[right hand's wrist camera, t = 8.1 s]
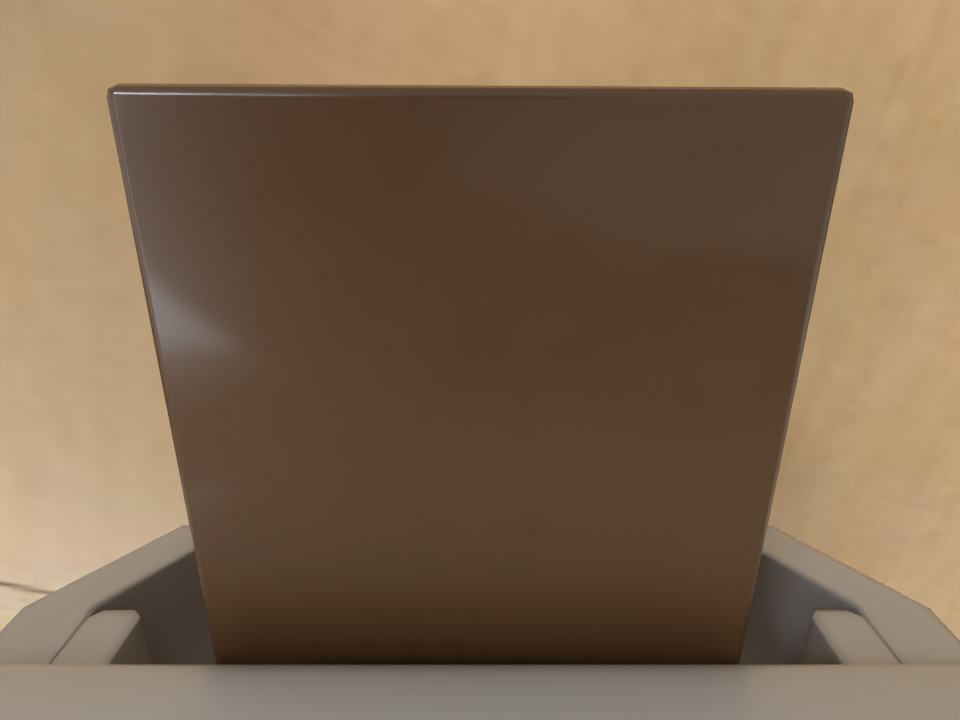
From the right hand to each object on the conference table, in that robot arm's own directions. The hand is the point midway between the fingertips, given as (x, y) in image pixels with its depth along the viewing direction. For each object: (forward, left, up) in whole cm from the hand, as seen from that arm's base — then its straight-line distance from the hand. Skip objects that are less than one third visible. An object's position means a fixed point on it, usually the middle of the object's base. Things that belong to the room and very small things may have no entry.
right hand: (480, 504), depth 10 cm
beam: (+20, -4, -3) cm, 20 cm away
